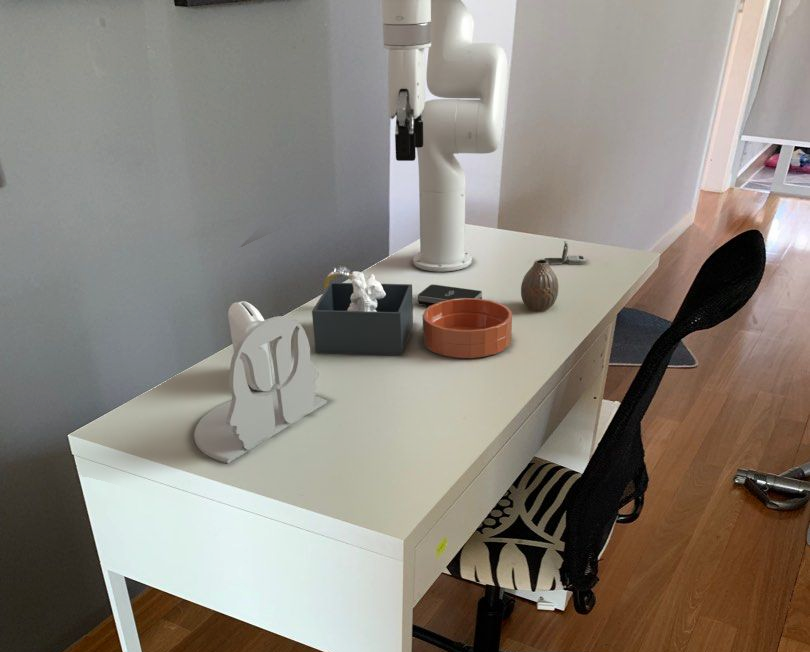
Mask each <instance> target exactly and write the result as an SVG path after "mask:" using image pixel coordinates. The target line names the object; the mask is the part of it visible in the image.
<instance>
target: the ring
mask: <svg viewBox="0 0 810 652" xmlns="http://www.w3.org/2000/svg"><path fill="white" fill-rule="evenodd" d="M351 274H352V272H351V269H350V268H348V267H346V266H345V265H344V266H343V265H342V264H341V265H340V264H339V267H335V266H333V270H332V271H331V272H330V273H329V274H328V275H327V276H326V278H325V279H324V281H323V292H324V291H325V290H326V288H327V286H328V285H329V283H331V280H333V279H335V278H336V277H346V278H348V280H350V281H351V282H352V276H351Z"/></svg>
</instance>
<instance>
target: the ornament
mask: <svg viewBox="0 0 810 652" xmlns="http://www.w3.org/2000/svg"><path fill="white" fill-rule="evenodd" d="M292 338H293V347H294V348H293V349H294V358H293V366H292V349H291V348H292ZM272 341H273V342H272ZM268 342H269V343H270V342H272V346H271V358H272V366H273V374H274V382H275V384H276V385H278V387H276V388H275V390H276V391H271V390H272V387H271V380H270V371H269V362H268V357H267V353H266V351H265V350H264V349H262V348H259V346H261V345H263V344H265V343H268ZM241 353H243V354H244V356H245V357H246V359H247V362H248V365H249V369H250V376H251V380H252V383H253V385H254V386H255V387H256V388H257V389H259V390H261V391H262V392H260V393H259V392H258V393H253V392H252V391H251V389H250V386H249V385H248V384H247V381H246V376H245V370H244V365H243V362H242V360H241V359H240V358H239V357H240V355H241ZM319 377H320V373H319V371H318V370H317V368H316V367H315V366H314V364H313V362H312V361H311V347H310V343H309V338H308V336H307V333H306V331H305V328H304V327H303V326H302V324H300V322H298V320H296V319H294V318H292V317H287V316H280V315H278V316H273V317H270V318H266V319H264V321H262V322H260V323H259V324H257V325H255V326H254V327H252V328H251V329H250V330H249V331H247V333H246V334H245V335H244V336H243V337H242V338H241V340H240V341H239V343H238V344H237V347H236V349H235V351H234V350H233V354H232V357H231V361H230V365H229V376H228V387H229V392H230V394H231V400H229V401H226V402H224V403H221V404H220V405H218V406H215V407H214V408H212V409H211V410H209V411H208V412H207V413H206V414H204V415H203V417H202V418H201V419H200V420H198V422H197V424H196V426H195V428H194V432H193V438H194V442H195V445H196V447H197V448H198V449H199V450H200V451H201V453H203V454H204V455H206V456H207V457H209V458H211V459H213V460H215V461H218V462H221V463H224V464H230V463H231V462H233V461H234V460H236V459H237V458H239V457H241V456H243V455H244V454H246V453H247V452H249V451H251V450H252V449H254V448H256V447H257V446H259V445H260V444H262V443H264V442H265V441H267V440H269V439H270V438H272V437H274V436H276V435H277V434H278V433H280V432H282V431H283V430H285V429H286V428H288V427H290V426H291V425H293V424H294V423H296V422H298V421H300V420H301V419H303V418H304V417H306V416H308V415H309V414H311V413H312V412H315V410H317V409H319V408H321V407H323V406H324V405H326V404H327V403H328V400H327V399H325V398H322V397H319V396H316V393H317V392H316V390H317V384H316V381H317V380H318V378H319Z"/></svg>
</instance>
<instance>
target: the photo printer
mask: <svg viewBox="0 0 810 652" xmlns="http://www.w3.org/2000/svg"><path fill="white" fill-rule="evenodd" d="M227 317H228V324H229V329H230V337H231V342H232V349H233V352H234V351H235V349H236V347H237V344H238V343H239V341H240V340H241V338H242V337H243V336H244V335H245V334H246V333H247V331H249V330H250V329H251V328H252V327H254V326H255V325H257V324H259V323H260V322H262V321H264V320H265V319H264V317H263V315H262V314H261V312H260V311H259V310H258V309H257V308H256V307H255V306H254V305H253V304H251V303H249V302H248V301H245V300H241V301H238V302H237V301H235V302H233V303H232V304H231V305H230V306H229V308H228V312H227ZM270 345H271V344H270V342H268V343H265V344H263V345H261V346H259V348H262V349H264V350H265V351H266V353H267V357H268V362H269V371H270V380H271V388H273V386H275V374H274V366H273V359H272V351H271V346H270ZM239 358H240V359H241V360H242V362H243V365H244V370H245V376H246V381H247V384H248V387H249V388H251V389H252V390H253V391H254V390H255V391H262V390H259V389H257V388H256V387H255V386H254V385H253V383H252V380H251V376H250V369H249V365H248V362H247V359H246V357H245V356H244V354H243V353H241V355H240V357H239Z"/></svg>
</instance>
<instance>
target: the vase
mask: <svg viewBox="0 0 810 652" xmlns="http://www.w3.org/2000/svg"><path fill="white" fill-rule="evenodd" d="M548 262H549V261H548V260H544V259H536V260H534V263H533V265H531V267H530V268H529V269H528V271H527V272H526V273H525V275H524V276H523V278H522V281H521V284H520V297H521V301H522V303H523V304H524V306H525V307H526V308H527V309H528V310H529V311H532V312H545V311H547V310H549V309H551V308H552V307H553V306H554V304H555V303H556V301H557V298H558V294H559V280H558V278H557V274H556V273H555V271H554V270H553V269H552V268H551V266H550V264H549V263H548Z"/></svg>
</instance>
